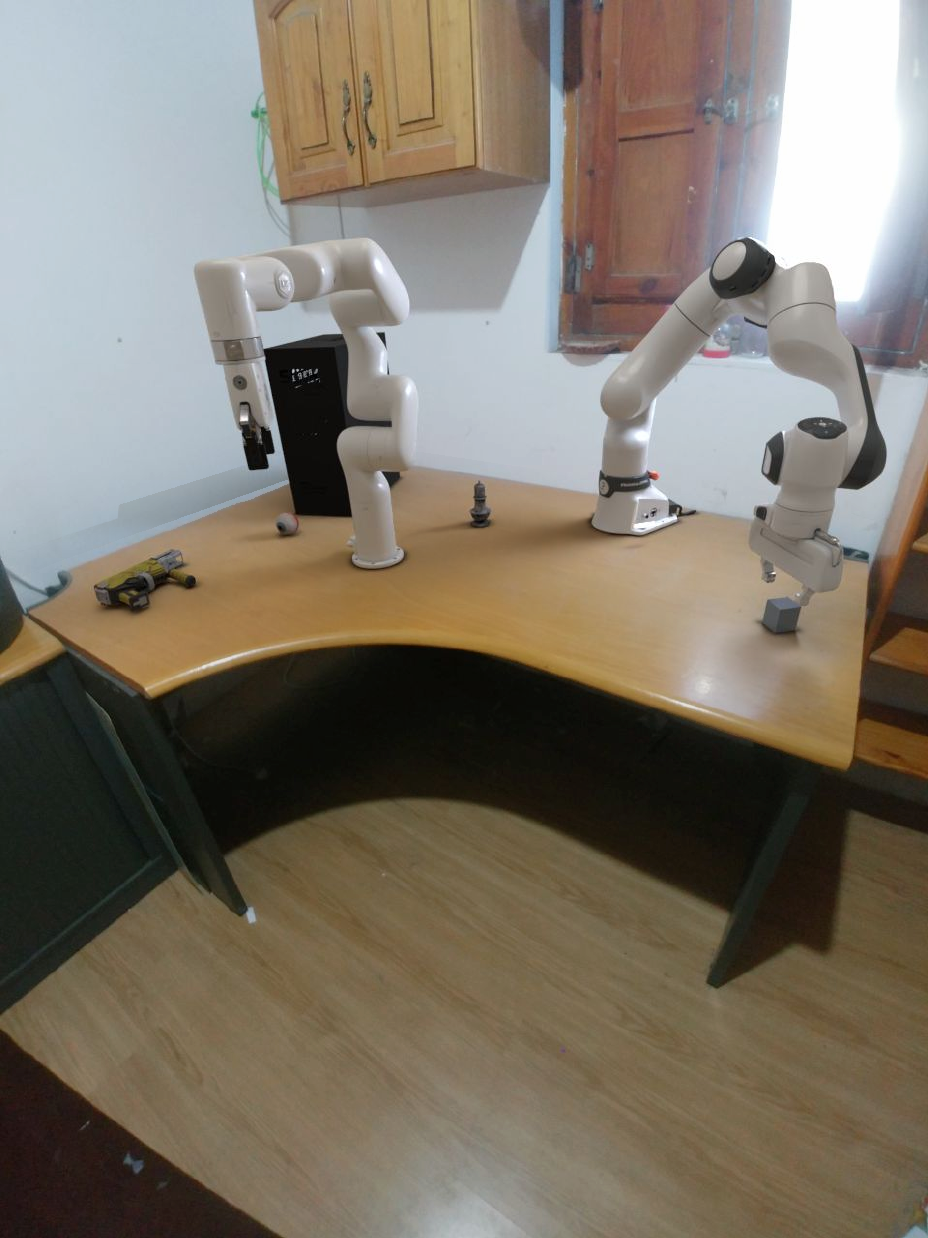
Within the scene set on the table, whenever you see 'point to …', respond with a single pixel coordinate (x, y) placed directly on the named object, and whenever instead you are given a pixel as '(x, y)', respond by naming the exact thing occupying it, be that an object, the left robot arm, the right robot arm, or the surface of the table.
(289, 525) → the eyeball
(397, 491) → the table surface
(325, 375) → the black tall box
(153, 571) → the toy gun
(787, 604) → the cube
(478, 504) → the grey chess piece
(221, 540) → the table surface
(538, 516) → the table surface
